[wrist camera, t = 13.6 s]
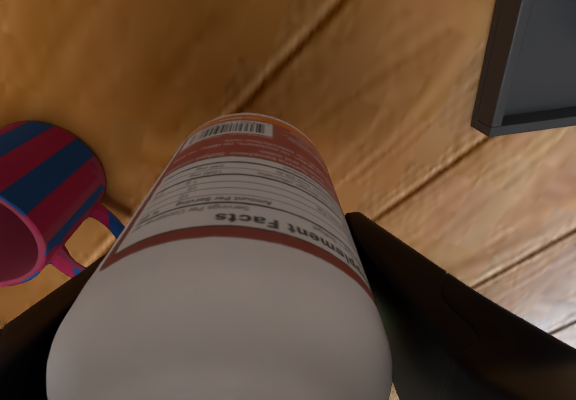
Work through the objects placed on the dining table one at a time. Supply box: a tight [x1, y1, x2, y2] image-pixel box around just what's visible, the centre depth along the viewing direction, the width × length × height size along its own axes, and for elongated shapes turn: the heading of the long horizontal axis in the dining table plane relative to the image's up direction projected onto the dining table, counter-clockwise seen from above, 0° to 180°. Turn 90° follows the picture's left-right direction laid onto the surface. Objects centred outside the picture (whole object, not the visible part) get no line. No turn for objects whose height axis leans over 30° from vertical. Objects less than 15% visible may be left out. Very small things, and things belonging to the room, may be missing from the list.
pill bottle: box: [46, 113, 393, 400], centre depth 8 cm, size 6×6×11 cm
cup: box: [0, 121, 125, 287], centre depth 18 cm, size 7×10×7 cm
